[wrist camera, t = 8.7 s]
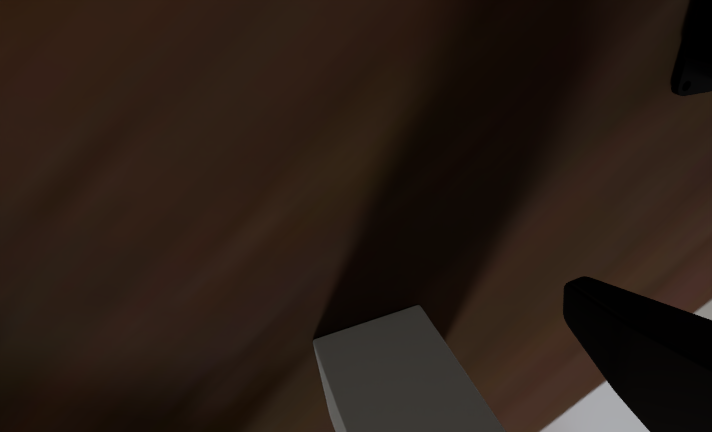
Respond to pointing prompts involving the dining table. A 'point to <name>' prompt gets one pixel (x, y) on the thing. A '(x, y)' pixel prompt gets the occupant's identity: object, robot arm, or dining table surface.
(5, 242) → the dining table surface
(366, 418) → the milk
